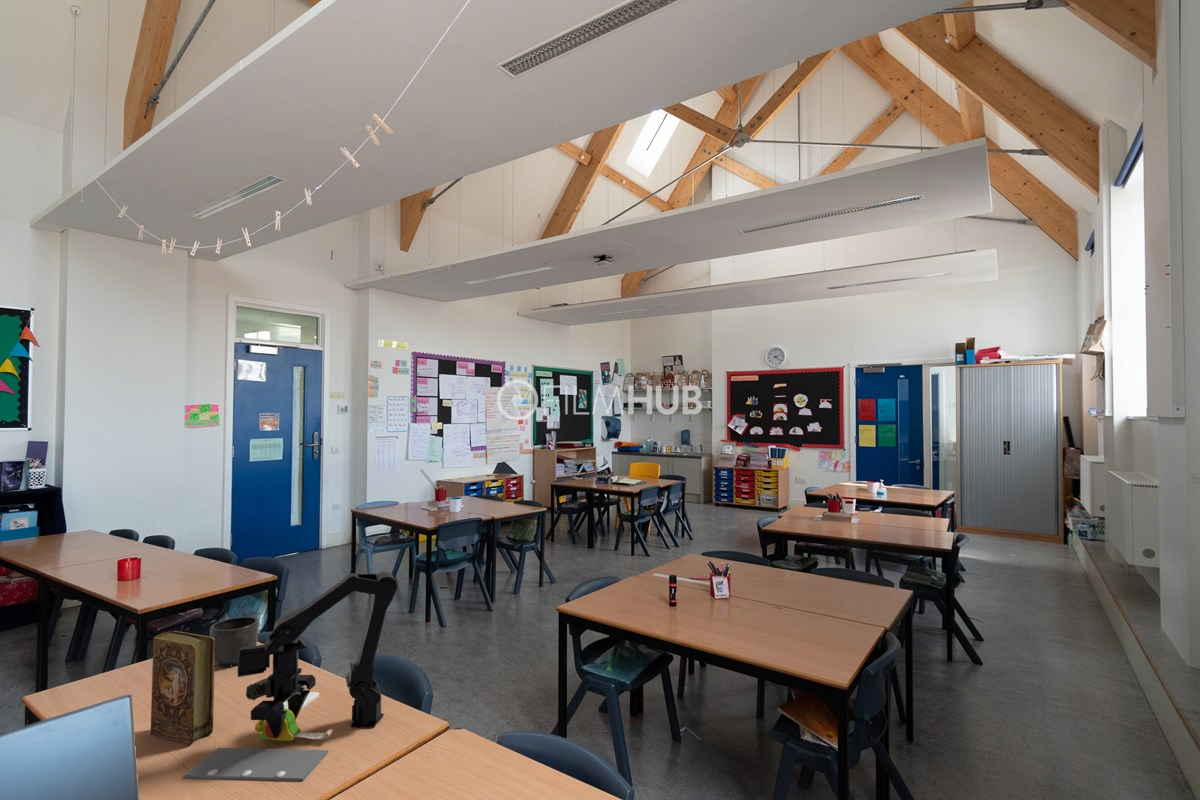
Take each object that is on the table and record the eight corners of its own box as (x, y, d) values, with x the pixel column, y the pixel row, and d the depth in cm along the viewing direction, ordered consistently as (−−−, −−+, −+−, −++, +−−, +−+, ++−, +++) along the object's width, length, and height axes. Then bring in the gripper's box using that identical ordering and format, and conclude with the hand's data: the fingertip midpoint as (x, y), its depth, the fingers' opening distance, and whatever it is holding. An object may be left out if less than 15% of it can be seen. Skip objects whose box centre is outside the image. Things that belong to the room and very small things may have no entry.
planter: (198, 669, 186) (199, 629, 187) (232, 652, 200) (233, 615, 200) (235, 672, 184) (236, 632, 184) (267, 654, 198) (268, 617, 198)
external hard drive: (319, 697, 168) (288, 719, 156) (294, 695, 169) (263, 716, 157) (319, 692, 168) (289, 713, 156) (295, 689, 169) (263, 710, 157)
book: (146, 734, 147) (149, 637, 148) (169, 724, 152) (171, 630, 153) (191, 746, 142) (194, 645, 143) (212, 735, 147) (215, 637, 148)
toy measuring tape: (263, 729, 147) (264, 703, 148) (336, 730, 147) (337, 704, 147) (247, 743, 141) (248, 716, 141) (324, 744, 140) (324, 717, 141)
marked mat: (328, 752, 139) (328, 749, 139) (303, 781, 128) (303, 777, 128) (218, 749, 140) (218, 746, 140) (183, 777, 129) (183, 774, 129)
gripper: (277, 652, 154) (276, 711, 154) (229, 684, 136) (228, 751, 135) (317, 653, 154) (316, 711, 153) (274, 685, 135) (273, 751, 135)
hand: (284, 730), depth 144 cm, fingers closed on toy measuring tape, 6 cm apart
